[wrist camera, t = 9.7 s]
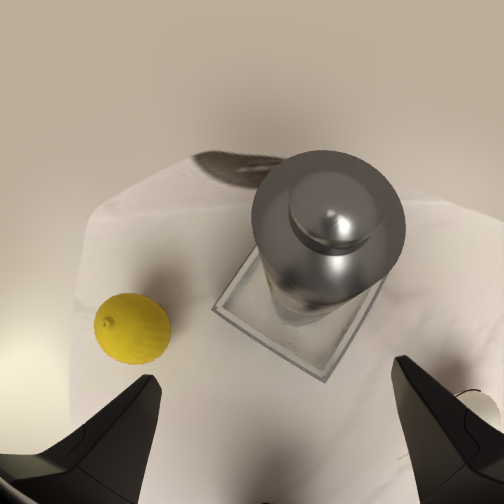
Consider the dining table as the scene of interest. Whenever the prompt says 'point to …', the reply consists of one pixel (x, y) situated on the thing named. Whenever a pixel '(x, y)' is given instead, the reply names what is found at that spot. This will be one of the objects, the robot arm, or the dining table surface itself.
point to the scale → (284, 332)
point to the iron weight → (325, 232)
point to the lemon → (132, 328)
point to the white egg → (480, 406)
